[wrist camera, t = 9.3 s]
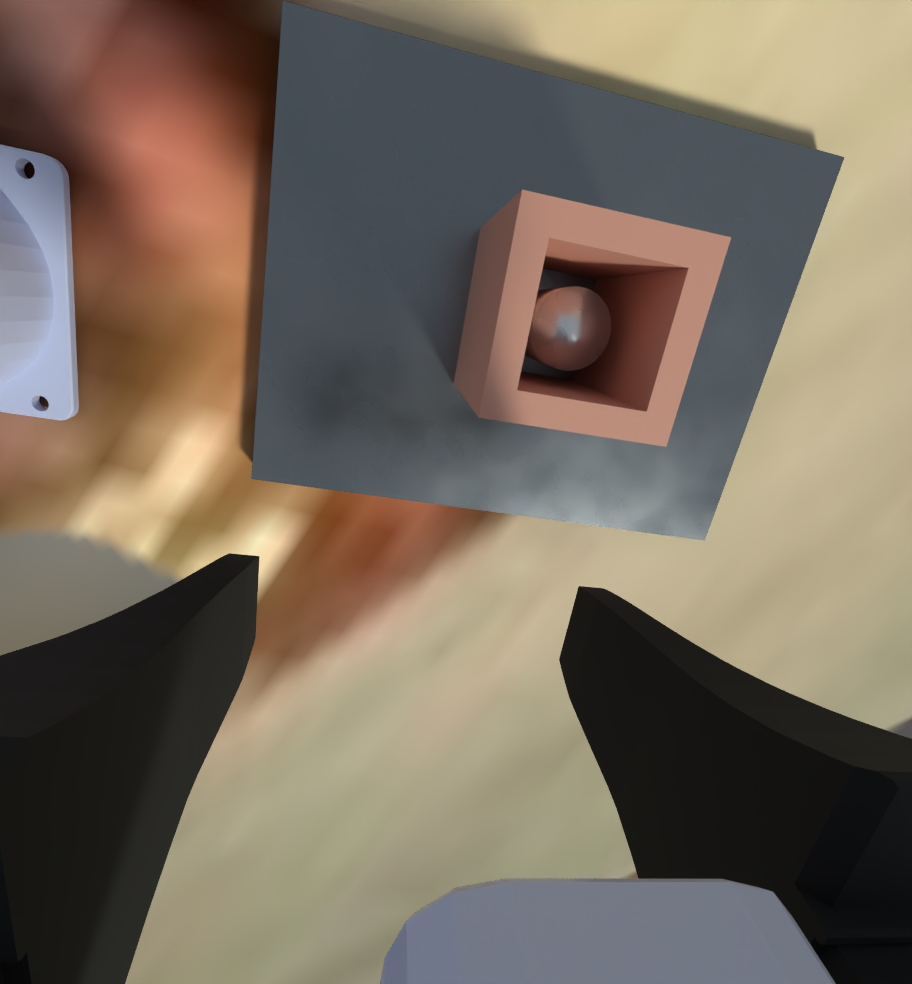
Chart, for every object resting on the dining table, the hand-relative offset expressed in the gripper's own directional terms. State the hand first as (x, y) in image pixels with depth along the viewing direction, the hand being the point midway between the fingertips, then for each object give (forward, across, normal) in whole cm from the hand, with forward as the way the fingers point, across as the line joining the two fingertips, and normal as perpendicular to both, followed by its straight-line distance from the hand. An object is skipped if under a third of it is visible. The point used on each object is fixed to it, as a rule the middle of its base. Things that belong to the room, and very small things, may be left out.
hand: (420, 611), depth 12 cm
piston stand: (+9, -4, -6) cm, 12 cm away
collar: (+8, -4, -6) cm, 11 cm away
